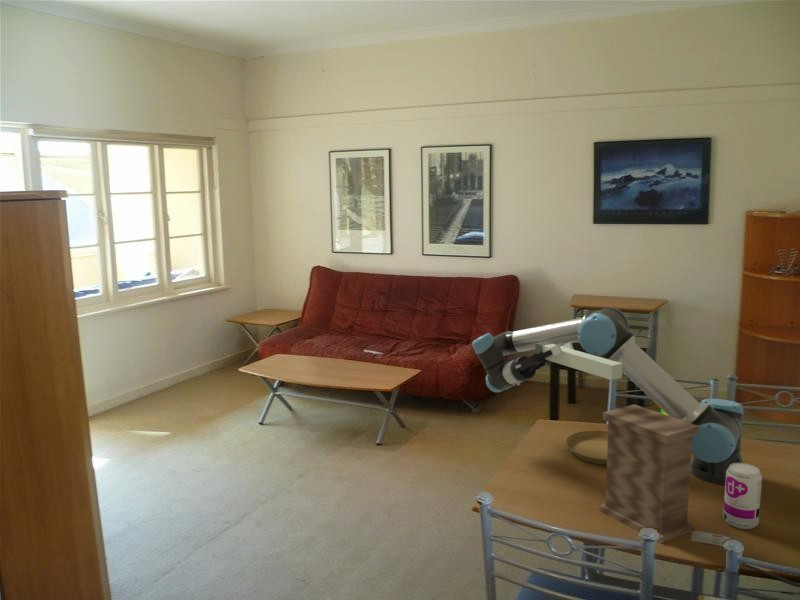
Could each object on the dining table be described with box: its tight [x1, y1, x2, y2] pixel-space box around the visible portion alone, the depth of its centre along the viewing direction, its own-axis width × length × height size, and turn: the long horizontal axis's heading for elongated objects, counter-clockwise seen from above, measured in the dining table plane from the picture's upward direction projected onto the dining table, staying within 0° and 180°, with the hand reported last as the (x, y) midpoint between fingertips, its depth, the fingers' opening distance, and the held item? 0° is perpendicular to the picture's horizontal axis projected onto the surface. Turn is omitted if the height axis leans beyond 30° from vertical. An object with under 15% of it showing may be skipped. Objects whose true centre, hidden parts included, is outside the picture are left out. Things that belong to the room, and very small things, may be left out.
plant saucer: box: [565, 429, 608, 466], centre depth 221 cm, size 24×24×3 cm
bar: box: [534, 342, 623, 381], centre depth 192 cm, size 30×4×4 cm, turn 30°
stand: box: [599, 404, 699, 544], centre depth 174 cm, size 20×12×28 cm, turn 30°
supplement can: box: [722, 462, 763, 530], centre depth 173 cm, size 8×8×15 cm
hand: (565, 347), depth 196 cm, fingers closed on bar, 4 cm apart
